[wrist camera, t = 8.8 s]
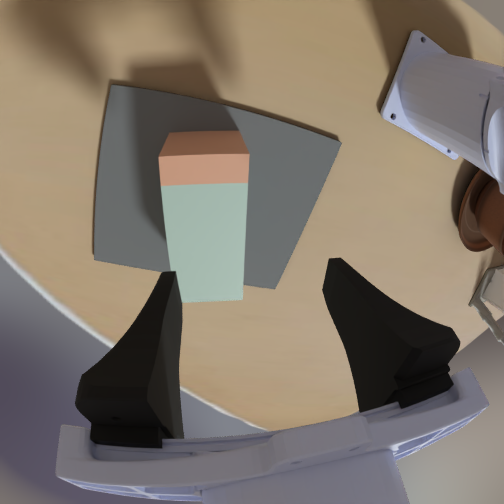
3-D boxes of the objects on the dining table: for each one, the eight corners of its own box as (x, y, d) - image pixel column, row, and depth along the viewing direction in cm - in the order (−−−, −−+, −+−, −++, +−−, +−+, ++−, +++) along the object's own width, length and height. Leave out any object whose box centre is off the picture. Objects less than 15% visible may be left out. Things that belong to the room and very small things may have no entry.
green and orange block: (235, 255, 24) (242, 299, 20) (179, 257, 24) (176, 302, 20) (239, 130, 18) (249, 153, 15) (169, 132, 18) (158, 156, 14)
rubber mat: (339, 141, 20) (341, 142, 20) (274, 286, 28) (275, 289, 27) (113, 84, 16) (111, 84, 15) (95, 257, 23) (94, 260, 23)
